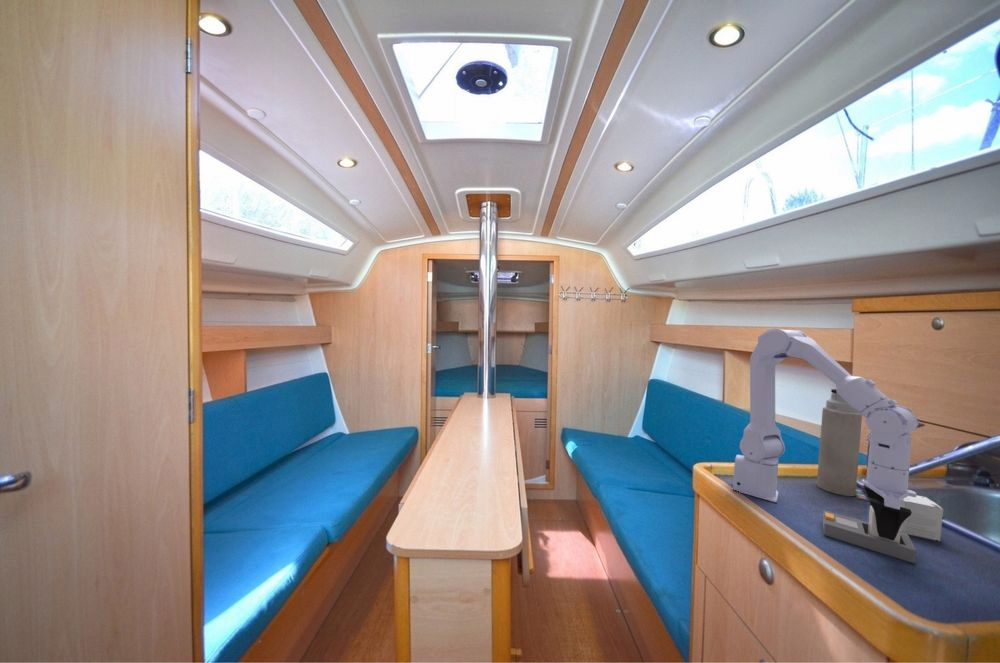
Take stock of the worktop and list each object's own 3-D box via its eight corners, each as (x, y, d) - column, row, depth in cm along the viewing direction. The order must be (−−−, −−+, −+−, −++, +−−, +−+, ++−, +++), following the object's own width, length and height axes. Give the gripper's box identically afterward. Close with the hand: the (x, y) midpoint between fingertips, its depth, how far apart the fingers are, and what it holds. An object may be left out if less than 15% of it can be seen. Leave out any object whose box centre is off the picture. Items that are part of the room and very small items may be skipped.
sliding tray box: (823, 534, 77) (824, 520, 77) (822, 520, 83) (823, 507, 83) (915, 563, 68) (916, 547, 68) (906, 545, 75) (907, 530, 74)
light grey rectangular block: (870, 545, 74) (872, 511, 74) (867, 537, 77) (870, 504, 77) (898, 554, 71) (901, 518, 71) (894, 545, 74) (897, 511, 74)
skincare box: (887, 520, 85) (889, 489, 84) (923, 528, 82) (926, 496, 82) (902, 533, 79) (905, 500, 79) (941, 542, 76) (944, 508, 76)
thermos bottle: (836, 483, 104) (844, 388, 104) (864, 497, 96) (872, 393, 96) (809, 482, 104) (816, 386, 104) (834, 495, 97) (842, 392, 96)
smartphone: (849, 489, 102) (849, 485, 102) (928, 507, 93) (929, 503, 93) (857, 500, 95) (857, 496, 95) (942, 520, 87) (943, 515, 87)
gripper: (927, 482, 65) (921, 555, 66) (909, 461, 77) (904, 523, 77) (871, 470, 70) (866, 538, 70) (862, 452, 81) (858, 511, 81)
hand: (882, 529), depth 74 cm, fingers open, 7 cm apart
